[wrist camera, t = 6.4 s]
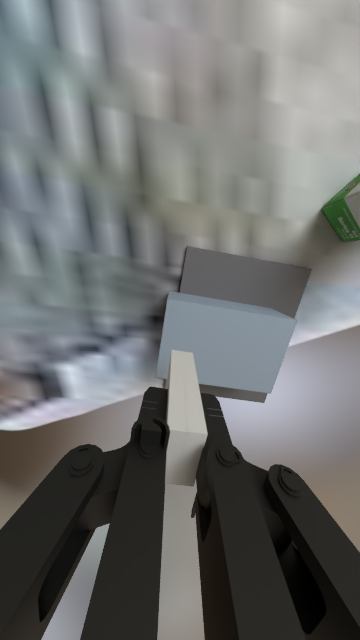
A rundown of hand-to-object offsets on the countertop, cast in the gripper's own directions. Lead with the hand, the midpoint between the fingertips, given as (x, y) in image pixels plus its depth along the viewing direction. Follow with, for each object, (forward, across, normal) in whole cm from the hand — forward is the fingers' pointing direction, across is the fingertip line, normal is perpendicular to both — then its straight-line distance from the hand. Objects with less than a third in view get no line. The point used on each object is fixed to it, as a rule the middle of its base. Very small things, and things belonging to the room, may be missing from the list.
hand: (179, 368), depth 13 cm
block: (+7, -2, 0) cm, 7 cm away
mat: (+10, +6, 0) cm, 12 cm away
